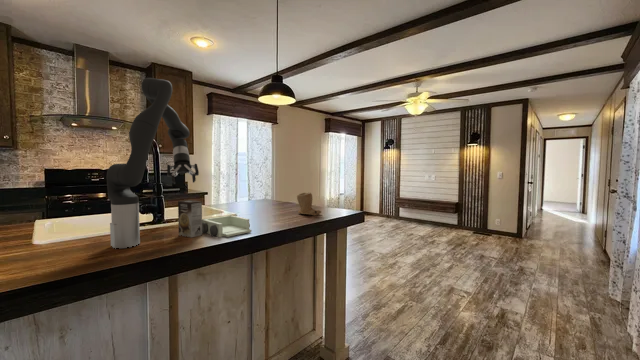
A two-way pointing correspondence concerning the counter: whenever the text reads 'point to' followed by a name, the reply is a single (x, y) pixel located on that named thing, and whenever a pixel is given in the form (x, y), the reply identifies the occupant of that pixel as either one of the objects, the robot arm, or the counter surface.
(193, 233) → the coffee box
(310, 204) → the brown boot
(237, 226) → the cart bed
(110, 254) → the counter surface
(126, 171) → the robot arm
